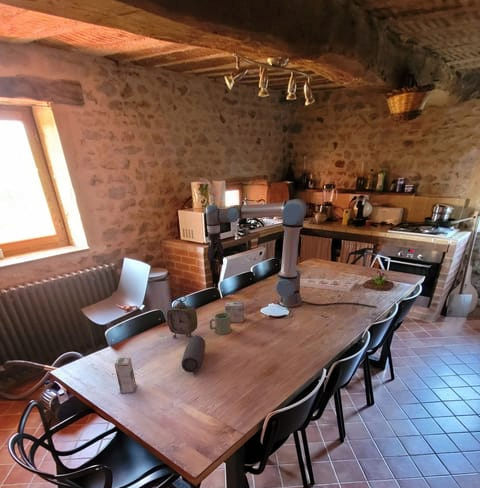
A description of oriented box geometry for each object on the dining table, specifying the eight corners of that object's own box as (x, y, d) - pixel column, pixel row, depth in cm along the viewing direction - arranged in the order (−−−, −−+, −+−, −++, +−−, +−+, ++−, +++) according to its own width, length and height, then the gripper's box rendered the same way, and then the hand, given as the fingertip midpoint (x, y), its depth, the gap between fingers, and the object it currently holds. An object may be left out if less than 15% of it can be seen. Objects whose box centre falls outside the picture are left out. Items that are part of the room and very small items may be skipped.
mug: (229, 327, 211) (228, 312, 206) (231, 333, 204) (230, 317, 199) (209, 329, 210) (208, 314, 205) (211, 335, 202) (209, 319, 197)
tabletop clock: (170, 338, 201) (163, 295, 189) (178, 332, 208) (172, 290, 196) (193, 341, 196) (188, 297, 184) (200, 334, 204) (195, 292, 192)
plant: (369, 280, 275) (371, 266, 270) (396, 284, 265) (398, 269, 259) (360, 288, 261) (362, 272, 256) (388, 292, 251) (390, 276, 245)
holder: (291, 284, 276) (291, 281, 275) (300, 278, 289) (300, 275, 288) (349, 291, 255) (350, 288, 254) (356, 284, 268) (357, 281, 267)
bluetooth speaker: (189, 352, 185) (187, 334, 180) (207, 351, 185) (205, 334, 180) (181, 375, 166) (178, 356, 161) (201, 375, 165) (199, 355, 160)
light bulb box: (244, 318, 222) (243, 301, 217) (243, 322, 216) (242, 305, 211) (227, 318, 223) (226, 301, 218) (225, 322, 217) (224, 305, 212)
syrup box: (123, 386, 160) (116, 357, 153) (136, 385, 160) (130, 356, 153) (120, 393, 155) (113, 364, 148) (134, 392, 155) (127, 363, 148)
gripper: (216, 229, 231) (219, 262, 242) (199, 236, 211) (203, 272, 221) (227, 229, 229) (229, 262, 239) (211, 236, 209) (214, 272, 219)
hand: (217, 267), depth 230 cm, fingers open, 13 cm apart
